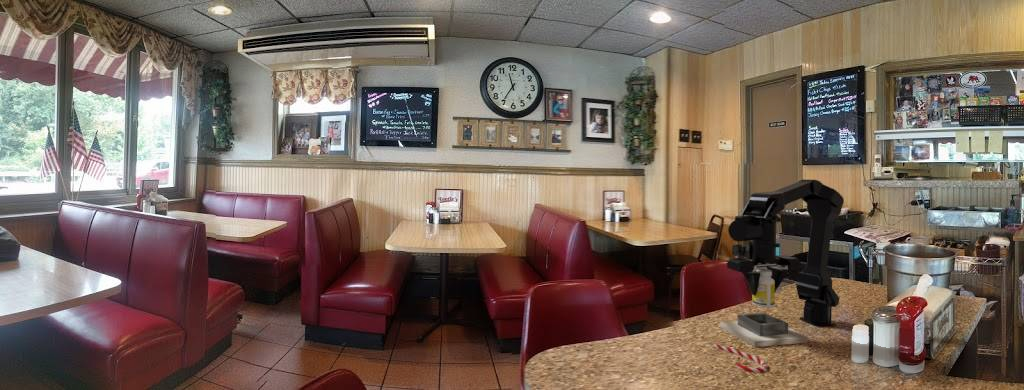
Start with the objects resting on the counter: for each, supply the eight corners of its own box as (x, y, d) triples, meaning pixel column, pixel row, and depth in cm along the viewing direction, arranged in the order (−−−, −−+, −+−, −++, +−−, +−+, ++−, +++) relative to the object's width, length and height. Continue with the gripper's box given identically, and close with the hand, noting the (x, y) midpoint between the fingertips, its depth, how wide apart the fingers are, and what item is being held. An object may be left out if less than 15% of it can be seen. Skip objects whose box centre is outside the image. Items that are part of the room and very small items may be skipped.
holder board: (768, 323, 125) (768, 308, 125) (808, 342, 112) (808, 325, 111) (719, 327, 123) (720, 312, 123) (754, 347, 109) (755, 330, 109)
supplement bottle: (768, 302, 119) (768, 268, 119) (778, 308, 114) (779, 272, 113) (748, 301, 120) (748, 267, 119) (757, 307, 114) (758, 272, 114)
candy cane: (722, 341, 111) (777, 365, 97) (722, 346, 111) (776, 370, 97) (700, 346, 108) (753, 371, 94) (700, 351, 108) (753, 377, 94)
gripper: (771, 233, 125) (770, 284, 126) (714, 235, 122) (714, 288, 123) (802, 238, 114) (801, 295, 115) (741, 242, 111) (740, 299, 112)
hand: (763, 294), depth 117 cm, fingers closed on supplement bottle, 5 cm apart
